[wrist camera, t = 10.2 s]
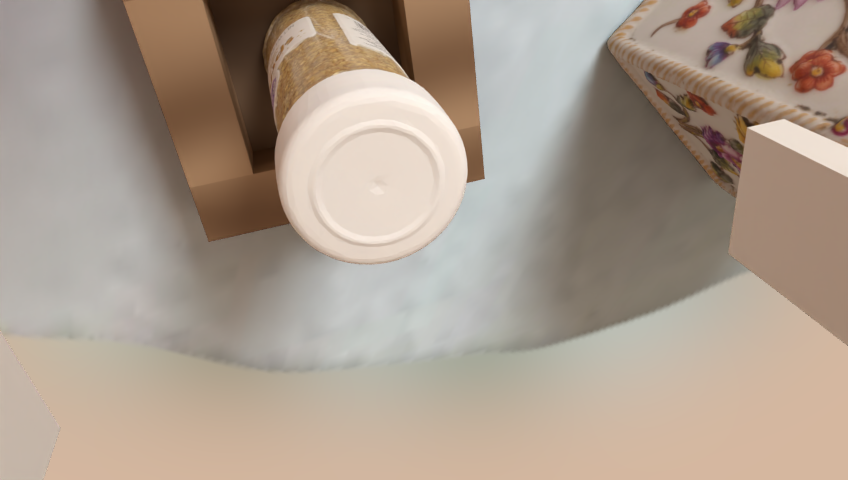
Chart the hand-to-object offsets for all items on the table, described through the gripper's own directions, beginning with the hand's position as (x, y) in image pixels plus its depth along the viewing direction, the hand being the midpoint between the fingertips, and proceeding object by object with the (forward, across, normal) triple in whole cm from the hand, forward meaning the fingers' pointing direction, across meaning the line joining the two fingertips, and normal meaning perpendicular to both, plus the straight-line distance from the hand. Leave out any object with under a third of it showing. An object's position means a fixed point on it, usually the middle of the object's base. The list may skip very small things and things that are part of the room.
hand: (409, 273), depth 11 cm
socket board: (+18, 0, 0) cm, 18 cm away
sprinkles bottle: (+18, 0, 0) cm, 18 cm away
